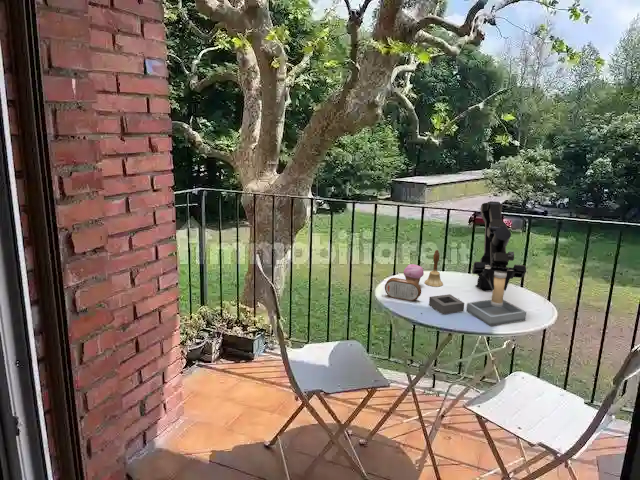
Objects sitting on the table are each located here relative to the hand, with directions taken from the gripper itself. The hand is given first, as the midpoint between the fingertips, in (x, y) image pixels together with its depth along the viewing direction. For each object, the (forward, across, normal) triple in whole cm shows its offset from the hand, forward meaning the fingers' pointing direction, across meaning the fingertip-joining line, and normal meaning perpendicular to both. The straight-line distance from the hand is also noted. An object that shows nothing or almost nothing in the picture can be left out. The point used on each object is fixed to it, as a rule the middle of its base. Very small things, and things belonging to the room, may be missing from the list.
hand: (499, 289), depth 174 cm
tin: (+1, -36, +15) cm, 39 cm away
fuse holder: (+5, -18, +11) cm, 22 cm away
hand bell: (-15, -22, +31) cm, 41 cm away
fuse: (+4, 0, +6) cm, 7 cm away
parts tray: (+7, 0, +9) cm, 11 cm away
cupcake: (-10, -32, +27) cm, 43 cm away
